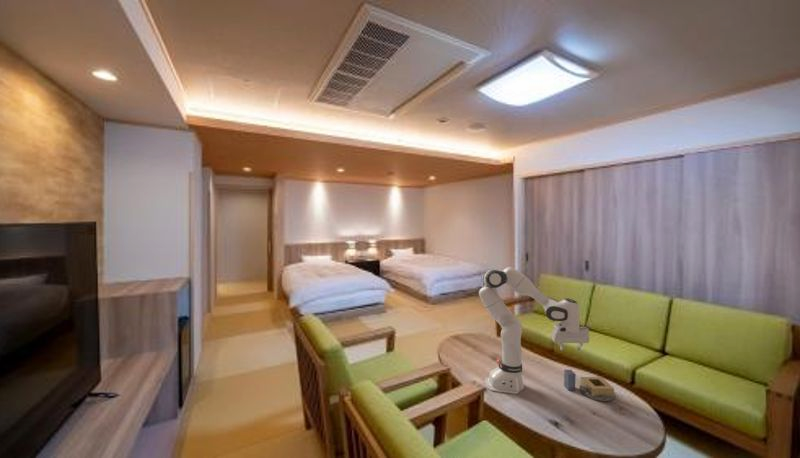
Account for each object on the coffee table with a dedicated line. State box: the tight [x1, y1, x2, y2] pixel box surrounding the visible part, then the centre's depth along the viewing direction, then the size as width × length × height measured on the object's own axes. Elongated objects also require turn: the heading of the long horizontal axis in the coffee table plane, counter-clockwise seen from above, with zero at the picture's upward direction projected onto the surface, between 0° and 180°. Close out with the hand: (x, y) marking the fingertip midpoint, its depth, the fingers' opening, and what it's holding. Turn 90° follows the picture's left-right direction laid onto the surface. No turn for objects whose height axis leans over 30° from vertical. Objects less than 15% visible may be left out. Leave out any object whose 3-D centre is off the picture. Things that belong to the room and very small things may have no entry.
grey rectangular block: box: [563, 369, 576, 392], centre depth 184 cm, size 4×5×10 cm
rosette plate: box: [579, 376, 616, 403], centre depth 179 cm, size 17×17×6 cm
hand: (570, 349), depth 183 cm, fingers open, 8 cm apart
